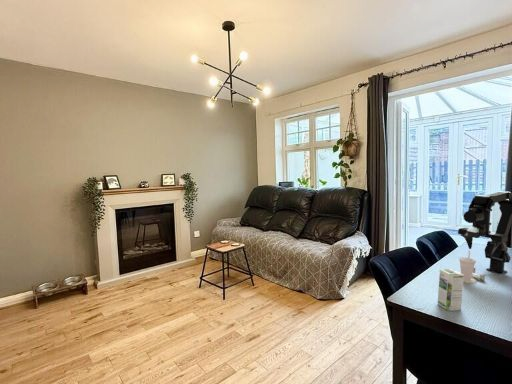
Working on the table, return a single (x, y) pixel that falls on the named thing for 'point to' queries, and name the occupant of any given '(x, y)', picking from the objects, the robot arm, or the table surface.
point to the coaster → (470, 281)
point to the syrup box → (450, 289)
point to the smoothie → (467, 266)
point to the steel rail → (478, 276)
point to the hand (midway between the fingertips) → (480, 251)
